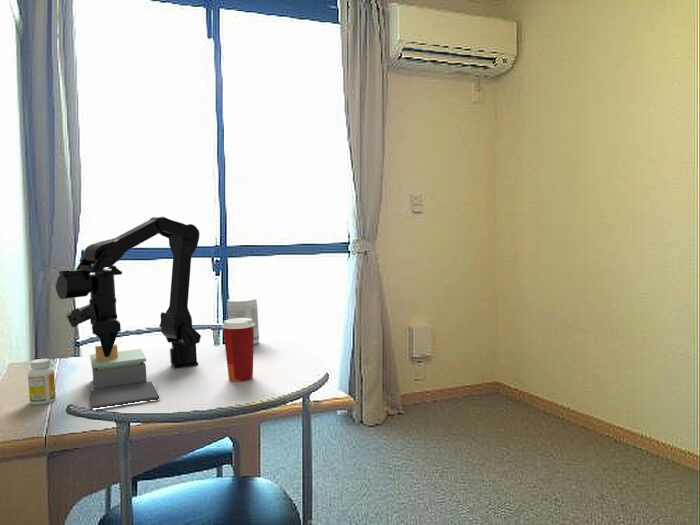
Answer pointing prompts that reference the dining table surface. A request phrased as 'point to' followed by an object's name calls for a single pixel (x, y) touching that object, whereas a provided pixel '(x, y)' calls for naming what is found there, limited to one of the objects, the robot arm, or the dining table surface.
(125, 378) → the tub
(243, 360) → the coffee cup
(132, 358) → the lid
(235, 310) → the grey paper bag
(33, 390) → the supplement bottle
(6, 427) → the dining table surface
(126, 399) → the mat
